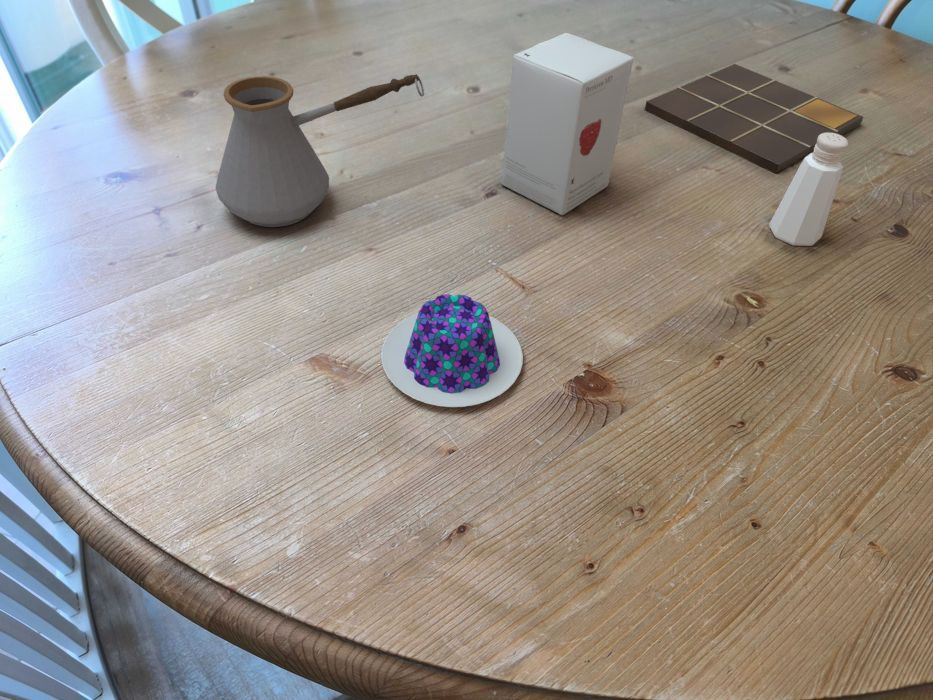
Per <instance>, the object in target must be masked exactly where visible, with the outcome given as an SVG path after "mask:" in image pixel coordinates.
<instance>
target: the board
mask: <svg viewBox="0 0 933 700" xmlns="http://www.w3.org/2000/svg"><path fill="white" fill-rule="evenodd" d="M644 111H646V112H649V113H650V114H653V115H655V116H657V117H658V118H661V119H662V120H665V121H666V122H669V123H671V124H673V125H675V126H677V127H679V128H681V129H683V130H685V131H688V132H690V133H692V134H694V135H696V136H698V137H700V138H702V139H704V140H706V141H708V142H710V143H712V144H715V145H717V146H718V147H720V148H722V149H724V150H726V151H729V152H730V153H733V154H734V155H737V156H739V157H741V158H743V159H745V160H747V161H750V162H751V163H753V164H755V165H758V166H759V167H762V168H764V169H766V170H768V171H770V172H772V173H773V174H777V173H779V172H781V171H783V170H784V169H786V168H788V167H790V166H792V165H794V164H795V163H797V162H799V161H800V160H802V159H804V158H805V157H807V156H808V155H809V154H811V153H813V151H814V148H815V145H816V143H817V138H818V136H819V135H820V134H822V133H836V134H839V135H841V136H843V135H845V134H847V133H849V132H850V131H852V130H854V129H856V128H857V127H859V126H861V124H862V123H863V119H864V116H863V115H861V114H858V113H856V112H853V111H851V110H849V109H845V108H843V107H841V106H839V105H836V104H835V103H834V104H833V103H832V102H828V101H826V100H824V99H822V98H819V96H814V95H812V94H809V93H807V92H804V91H803V90H799V89H797V88H795V87H793V86H790V85H787V84H785V83H782V82H780V81H778V80H777V79H776V78H774V79H773V78H771V77H768V76H766V75H763V74H761V73H758V72H756V71H753V70H751V69H748V68H746V67H743V66H741V65H738V64H736V63H733V64H731V65H729V66H726V67H723V68H721V69H718V70H716V71H715V72H712V73H709V74H705V76H703V77H700V78H698V79H696V80H694V81H693V80H692V81H691V82H688V83H686V84H683V85H682V86H677V87H676V88H675V89H672V90H669V91H667V92H665V93H662V94H660V95H658V96H655V97H653V98H650V99H649V100H646V102H645V105H644Z"/></svg>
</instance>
